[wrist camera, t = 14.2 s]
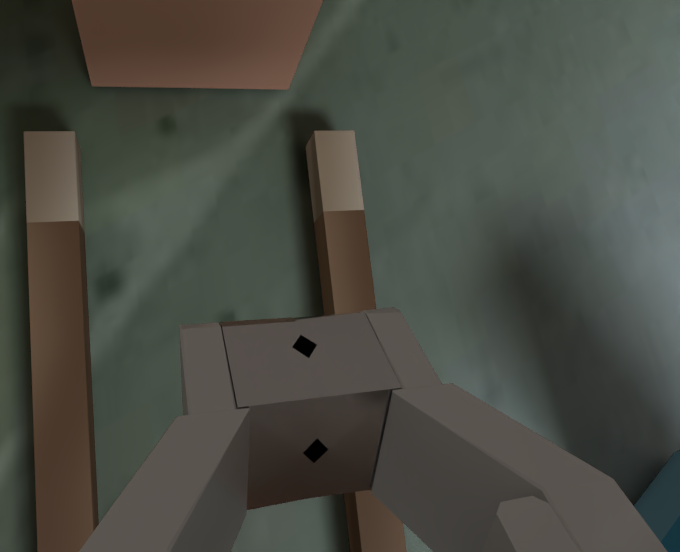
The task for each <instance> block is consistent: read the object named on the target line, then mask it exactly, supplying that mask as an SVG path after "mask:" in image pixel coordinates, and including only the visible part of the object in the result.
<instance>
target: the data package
mask: <svg viewBox="0 0 680 552" xmlns="http://www.w3.org/2000/svg"><path fill="white" fill-rule="evenodd" d="M634 507H635V509H636V510H637V511H638V513H639V514H640V515H641V517H642V518H643V519H644V521H645V522H646V523H647V525H648V526H649V527H650V529H651V530H652V531H653V533H654V534H655V535H656V537H657V538H658V539H659V541H660V542H661V543H662V545H663V546H664V548H665V549H666V550H667V552H680V450H679V451H677V452H675V453H674V454H673V455H672V456H671V458H670V459H669V460H668V462H667V463H666V464H665V465H664V467H663V468H662V469H661V471H660V472H659V473H658V475H657V476H656V477H655V479H654V480H653V481H652V483H651V484H650V485H649V487H648V488H647V489H646V491H645V492H644V493H643V495H642V496H641V497H640V498H639V500H638V501H637V502H636V504H635V505H634Z"/></svg>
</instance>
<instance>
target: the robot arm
mask: <svg viewBox="0 0 680 552" xmlns="http://www.w3.org/2000/svg"><path fill="white" fill-rule="evenodd" d="M179 334H180V359H181V384H182V404H183V416H178V417H176V418H175V419H174V421H173V422H172V423H171V425H170V426H169V428H168V429H167V430H166V432H165V433H164V434H163V436H162V437H161V439H160V440H159V441H158V443H157V444H156V446H155V447H154V448H153V450H152V451H151V452H150V454H149V455H148V457H147V458H146V459H145V461H144V462H143V464H142V465H141V466H140V468H139V469H138V470H137V472H136V473H135V475H134V476H133V477H132V479H131V480H130V482H129V483H128V484H127V486H126V487H125V489H124V490H123V491H122V493H121V494H120V495H119V497H118V498H117V500H116V501H115V502H114V504H113V505H112V507H111V508H110V509H109V511H108V512H107V513H106V515H105V516H104V518H103V519H102V520H101V522H100V523H99V525H98V526H97V527H96V529H95V530H94V531H93V533H92V534H91V536H90V537H89V538H88V540H87V541H86V543H85V544H84V545H83V547H82V548H81V550H80V551H79V552H231V550H232V547H233V545H234V543H235V540H236V538H237V536H238V533H239V531H240V529H241V526H242V524H243V522H244V519H245V517H246V515H247V510H251V509H256V508H261V507H266V506H271V505H277V504H282V503H287V502H292V501H297V500H302V499H308V498H314V497H322V496H329V495H336V494H344V493H351V492H358V491H366V490H372V492H371V493H372V494H373V495H374V496H375V497H376V498H377V499H378V500H380V501H381V502H382V503H383V504H384V505H385V506H386V507H387V508H388V509H389V510H390V511H391V512H392V513H393V514H394V515H395V516H396V517H398V518H399V519H400V520H401V521H402V522H403V523H404V524H405V525H406V526H407V527H408V528H409V529H410V530H411V531H412V532H413V533H415V534H416V535H417V536H418V537H419V538H420V539H421V540H422V541H423V542H424V543H425V544H426V545H427V546H428V547H429V548H430V549H432V550H433V551H434V552H667V550H666V549H665V548H664V546H663V545H662V543H661V542H660V541H659V539H658V538H657V537H656V535H655V534H654V533H653V531H652V530H651V529H650V527H649V526H648V525H647V523H646V522H645V521H644V519H643V518H642V517H641V515H640V514H639V513H638V511H637V510H636V509H635V507H634V506H633V505H632V503H631V502H630V501H629V499H628V498H627V496H626V495H625V494H624V492H623V491H622V490H621V488H620V487H619V486H618V484H617V483H616V482H615V480H614V479H613V478H611V477H609V476H607V475H606V474H604V473H602V472H601V471H599V470H597V469H596V468H594V467H592V466H591V465H589V464H587V463H586V462H584V461H582V460H581V459H579V458H577V457H576V456H574V455H572V454H570V453H569V452H567V451H565V450H564V449H562V448H560V447H559V446H557V445H555V444H554V443H552V442H550V441H549V440H547V439H545V438H544V437H542V436H540V435H539V434H537V433H535V432H533V431H532V430H530V429H528V428H527V427H525V426H523V425H522V424H520V423H518V422H517V421H515V420H513V419H512V418H510V417H508V416H507V415H505V414H503V413H502V412H500V411H498V410H496V409H495V408H493V407H491V406H490V405H488V404H486V403H485V402H483V401H481V400H480V399H478V398H476V397H475V396H473V395H471V394H470V393H468V392H466V391H464V390H463V389H461V388H459V387H458V386H456V385H454V384H453V383H451V384H442V383H441V381H440V379H439V378H438V376H437V374H436V372H435V371H434V369H433V367H432V365H431V364H430V362H429V360H428V359H427V357H426V355H425V353H424V352H423V350H422V348H421V346H420V345H419V343H418V341H417V340H416V338H415V336H414V334H413V333H412V331H411V329H410V327H409V326H408V324H407V322H406V320H405V319H404V317H403V315H402V314H401V312H400V311H399V310H398V309H396V308H395V307H392V308H382V309H373V310H364V311H361V312H354V313H343V314H331V315H320V316H309V317H297V318H277V319H260V320H244V321H228V322H220V323H219V324H218V322H217V323H203V324H189V325H180V332H179Z"/></svg>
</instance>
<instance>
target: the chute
mask: <svg viewBox="0 0 680 552" xmlns="http://www.w3.org/2000/svg"><path fill="white" fill-rule="evenodd" d="M24 156H25V186H26V217H27V247H28V277H29V307H30V338H31V368H32V398H33V428H34V459H35V489H36V519H37V549H38V552H79V551H80V550H81V548H82V547H83V545H84V544H85V543H86V541H87V540H88V538H89V537H90V536H91V534H92V533H93V531H94V530H95V529H96V527H97V526H98V525H99V523H98V502H97V481H96V461H95V440H94V419H93V399H92V378H91V358H90V337H89V316H88V296H87V275H86V255H85V234H84V213H83V193H82V172H81V151H80V146H79V143H78V140H77V137H76V134H75V131H24ZM306 156H307V165H308V174H309V183H310V192H311V201H312V210H313V219H314V228H315V237H316V246H317V255H318V264H319V273H320V282H321V291H322V300H323V309H324V315H331V314H343V313H354V312H361V311H364V310H373V309H376V303H375V295H374V287H373V278H372V270H371V262H370V254H369V246H368V238H367V230H366V222H365V214H364V206H363V198H362V190H361V182H360V174H359V166H358V158H357V150H356V142H355V134H354V131H314V132H313V134H312V136H311V138H310V140H309V141H308V143H307V145H306ZM371 492H372V490H366V491H358V492H351V493H344V499H345V508H346V517H347V526H348V535H349V545H350V552H406V544H405V535H404V527H403V522H402V521H401V520H400V519H399V518H398V517H396V516H395V515H394V514H393V513H392V512H391V511H390V510H389V509H388V508H387V507H386V506H385V505H384V504H383V503H382V502H381V501H380V500H378V499H377V498H376V497H375V496H374V495H373V494H372V493H371Z"/></svg>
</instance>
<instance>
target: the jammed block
mask: <svg viewBox="0 0 680 552" xmlns="http://www.w3.org/2000/svg"><path fill="white" fill-rule="evenodd" d="M322 2H323V0H72V4H73V8H74V13H75V17H76V21H77V25H78V30H79V34H80V38H81V43H82V47H83V51H84V55H85V60H86V64H87V68H88V73H89V77H90V81H91V85H92V86H99V87H160V88H221V89H281V90H288V89H289V87H290V84H291V81H292V79H293V76H294V74H295V71H296V69H297V66H298V64H299V61H300V58H301V56H302V53H303V51H304V48H305V46H306V43H307V40H308V38H309V35H310V33H311V30H312V28H313V25H314V22H315V20H316V17H317V15H318V12H319V10H320V7H321V4H322Z"/></svg>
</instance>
